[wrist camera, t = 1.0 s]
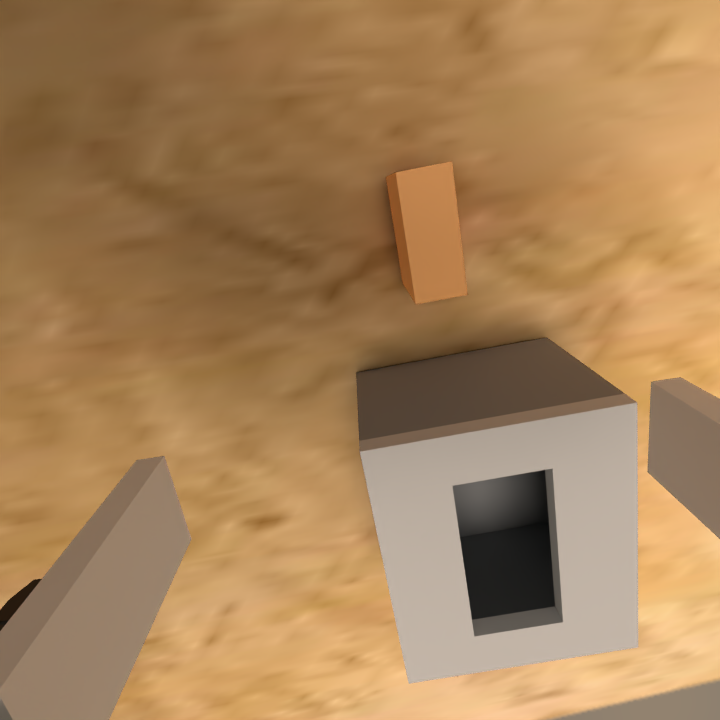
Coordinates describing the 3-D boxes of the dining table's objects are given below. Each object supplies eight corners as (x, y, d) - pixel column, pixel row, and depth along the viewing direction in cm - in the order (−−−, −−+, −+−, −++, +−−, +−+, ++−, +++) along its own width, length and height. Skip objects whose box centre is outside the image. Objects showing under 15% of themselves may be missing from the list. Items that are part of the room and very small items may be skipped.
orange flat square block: (385, 177, 27) (395, 172, 21) (430, 168, 27) (452, 161, 21) (402, 283, 29) (415, 304, 23) (444, 275, 29) (467, 294, 23)
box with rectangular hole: (356, 372, 31) (359, 451, 21) (546, 337, 30) (637, 402, 21) (392, 551, 35) (408, 683, 26) (559, 523, 35) (637, 647, 25)
